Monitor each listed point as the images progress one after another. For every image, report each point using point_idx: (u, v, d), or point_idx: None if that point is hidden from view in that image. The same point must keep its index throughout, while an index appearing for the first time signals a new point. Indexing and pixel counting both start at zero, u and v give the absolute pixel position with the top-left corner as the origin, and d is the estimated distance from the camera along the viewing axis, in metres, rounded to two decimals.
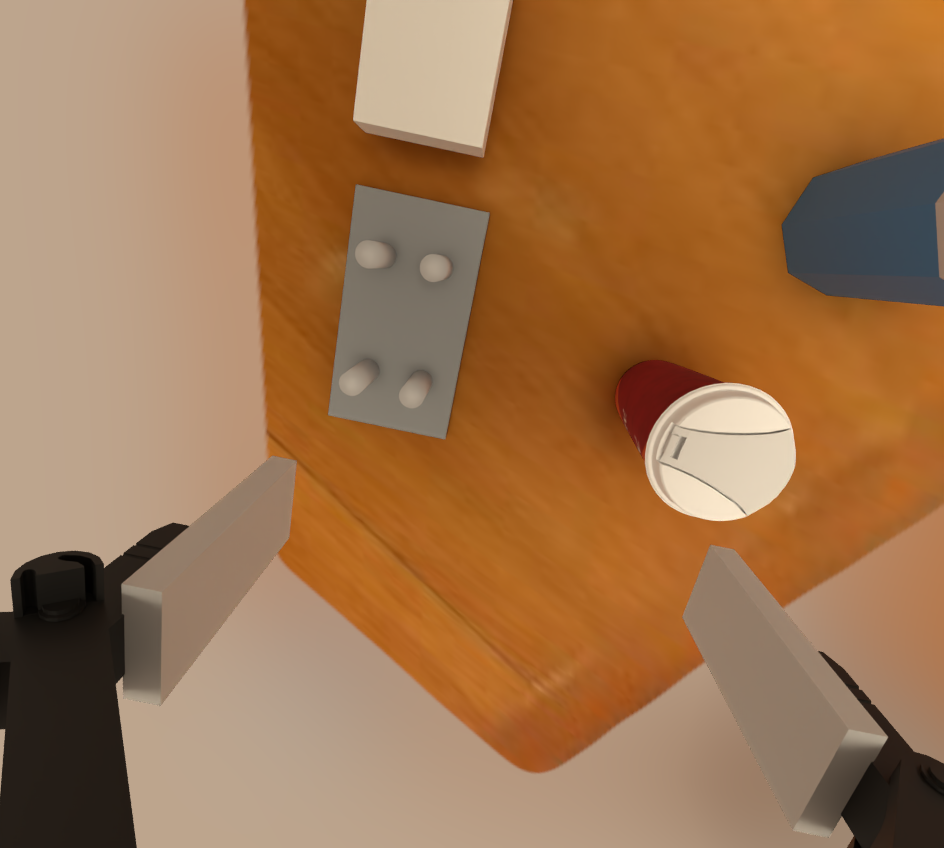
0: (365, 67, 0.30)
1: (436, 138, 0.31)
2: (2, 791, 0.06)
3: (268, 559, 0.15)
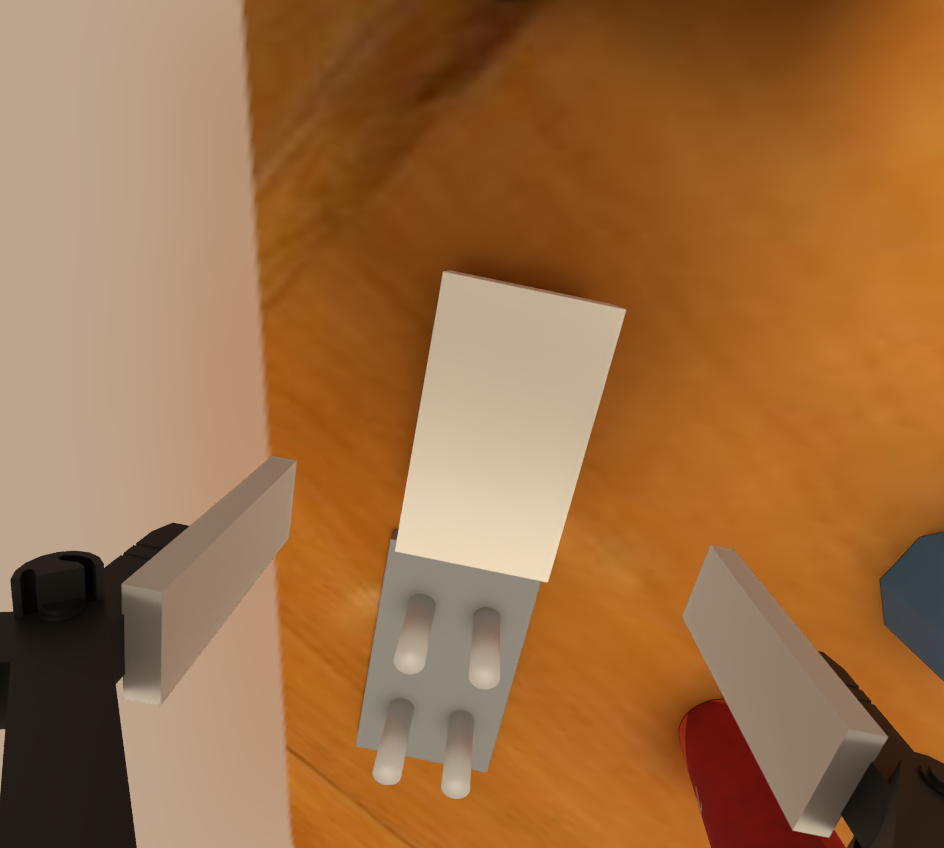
0: (410, 503, 0.25)
1: None
2: (2, 791, 0.06)
3: (268, 559, 0.15)
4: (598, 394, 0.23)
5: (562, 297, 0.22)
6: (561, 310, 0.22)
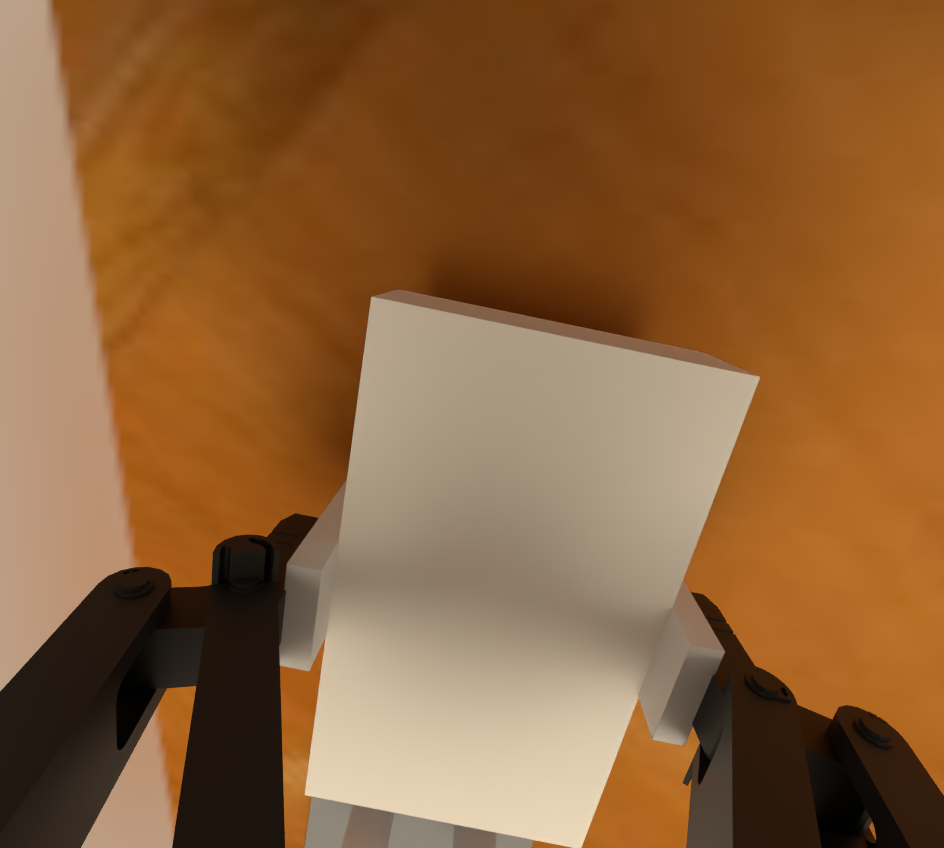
0: (329, 721, 0.14)
1: None
2: (190, 730, 0.07)
3: None
4: (691, 540, 0.12)
5: (624, 351, 0.10)
6: (621, 377, 0.10)
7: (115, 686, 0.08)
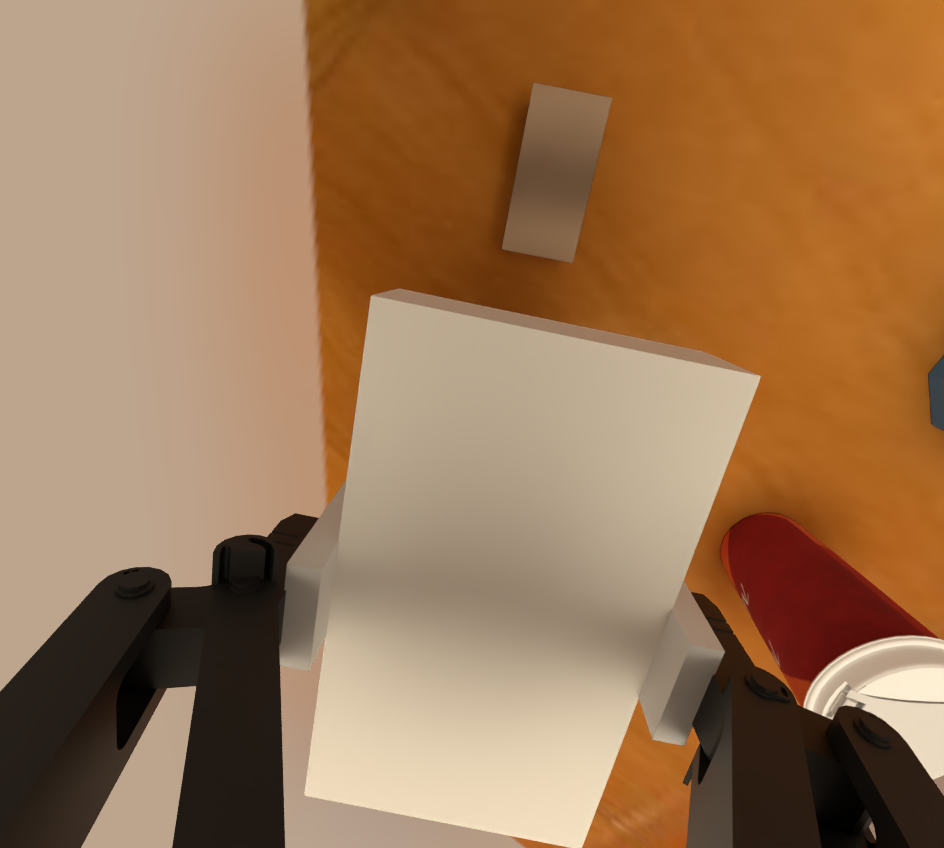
0: (328, 721, 0.14)
1: None
2: (191, 730, 0.07)
3: None
4: (691, 540, 0.11)
5: (625, 350, 0.10)
6: (622, 376, 0.10)
7: (116, 685, 0.08)
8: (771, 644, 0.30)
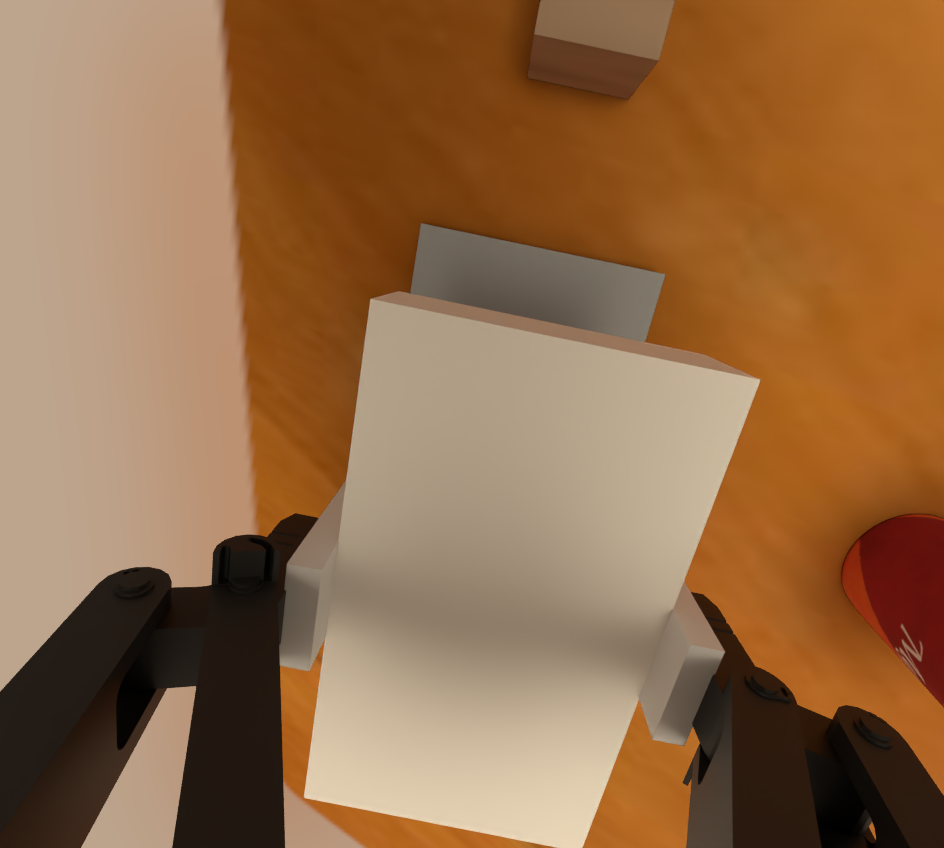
0: (328, 724, 0.14)
1: None
2: (191, 730, 0.07)
3: None
4: (691, 543, 0.11)
5: (624, 353, 0.10)
6: (621, 379, 0.10)
7: (116, 685, 0.08)
8: None
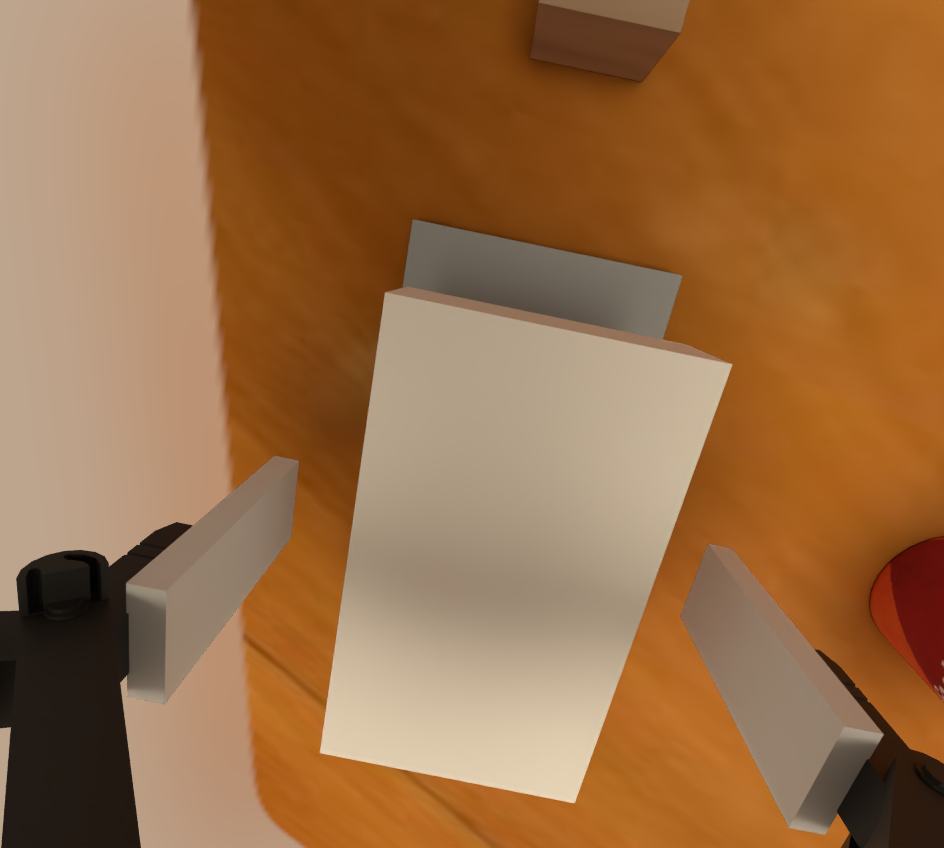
0: (343, 683, 0.15)
1: None
2: (7, 789, 0.06)
3: (271, 558, 0.15)
4: (672, 513, 0.13)
5: (611, 341, 0.12)
6: (608, 365, 0.12)
7: None
8: None
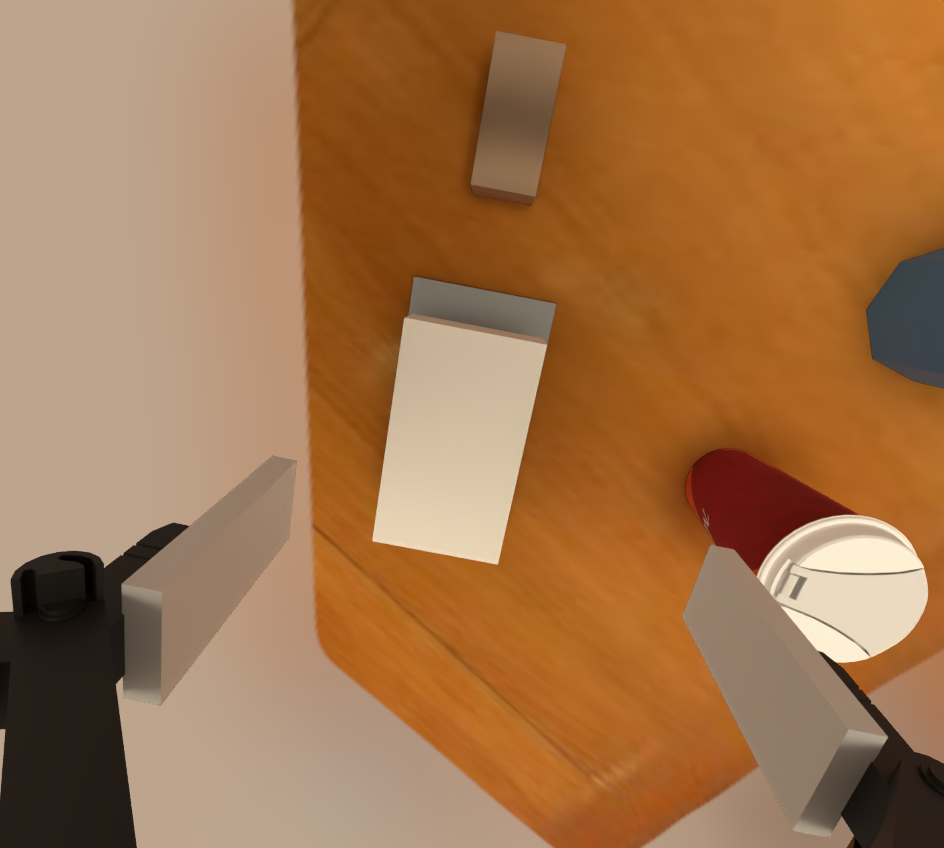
0: (384, 501, 0.31)
1: None
2: (2, 791, 0.06)
3: (268, 559, 0.15)
4: (529, 410, 0.29)
5: (497, 336, 0.28)
6: (497, 345, 0.28)
7: None
8: None
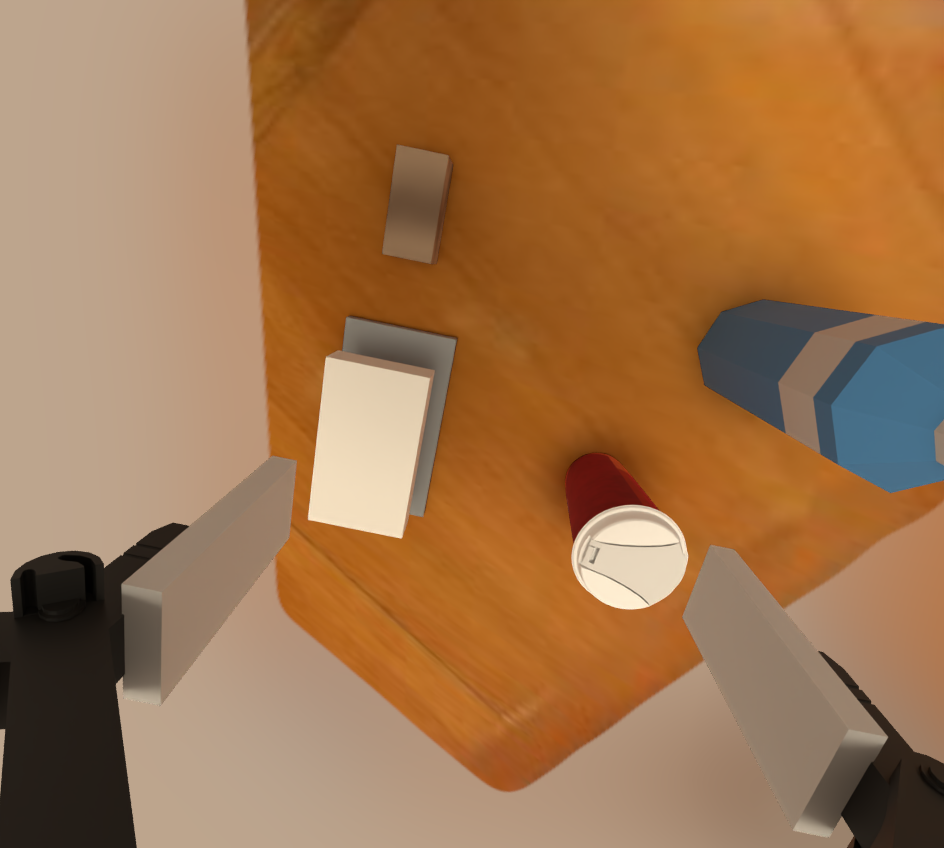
0: (315, 489, 0.42)
1: (368, 530, 0.43)
2: (1, 791, 0.06)
3: (268, 559, 0.15)
4: (419, 425, 0.40)
5: (393, 371, 0.39)
6: (393, 378, 0.39)
7: None
8: None
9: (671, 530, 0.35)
